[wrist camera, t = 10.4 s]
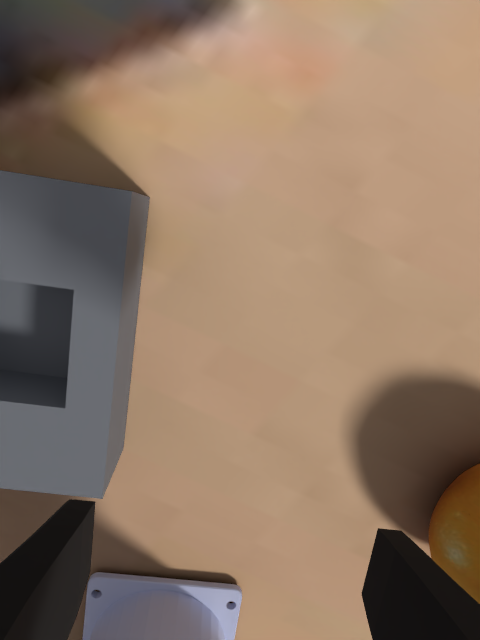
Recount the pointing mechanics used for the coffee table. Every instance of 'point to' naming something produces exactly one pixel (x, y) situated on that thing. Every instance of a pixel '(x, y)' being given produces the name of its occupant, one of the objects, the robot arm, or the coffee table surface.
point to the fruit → (459, 531)
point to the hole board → (66, 330)
